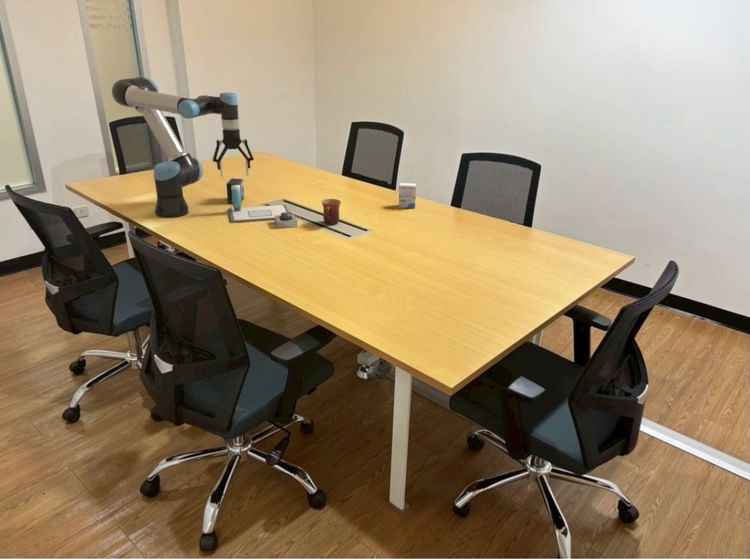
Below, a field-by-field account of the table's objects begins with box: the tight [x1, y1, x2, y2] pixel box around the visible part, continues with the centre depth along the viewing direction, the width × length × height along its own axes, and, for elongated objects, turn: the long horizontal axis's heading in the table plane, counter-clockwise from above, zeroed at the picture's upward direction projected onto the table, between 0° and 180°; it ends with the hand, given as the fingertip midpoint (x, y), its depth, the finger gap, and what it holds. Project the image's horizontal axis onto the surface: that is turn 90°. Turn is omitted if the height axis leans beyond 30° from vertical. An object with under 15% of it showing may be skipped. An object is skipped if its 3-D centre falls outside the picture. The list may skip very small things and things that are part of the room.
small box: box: [225, 178, 245, 205], centre depth 289 cm, size 11×6×10 cm, turn 179°
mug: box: [321, 198, 342, 226], centre depth 261 cm, size 12×9×10 cm
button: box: [281, 212, 291, 220], centre depth 259 cm, size 4×4×3 cm
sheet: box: [227, 204, 291, 224], centre depth 273 cm, size 28×20×1 cm
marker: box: [231, 185, 242, 211], centre depth 271 cm, size 4×4×12 cm
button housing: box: [274, 213, 298, 229], centre depth 260 cm, size 9×9×3 cm
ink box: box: [397, 182, 417, 209], centre depth 287 cm, size 9×5×12 cm, turn 84°
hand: (234, 175), depth 267 cm, fingers open, 11 cm apart
